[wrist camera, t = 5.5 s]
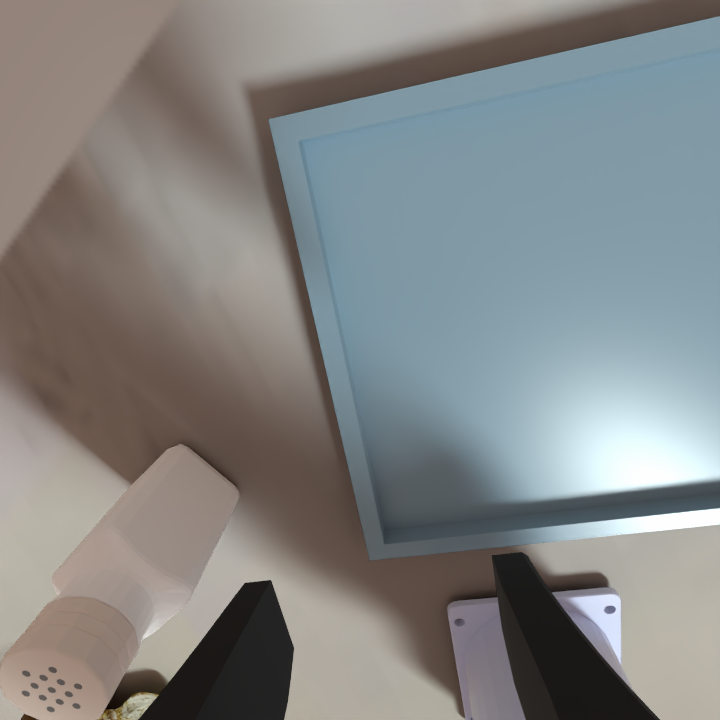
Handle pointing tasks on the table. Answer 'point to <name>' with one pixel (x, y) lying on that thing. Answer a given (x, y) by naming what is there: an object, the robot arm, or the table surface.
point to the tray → (521, 293)
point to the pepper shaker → (119, 589)
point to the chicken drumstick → (124, 708)
